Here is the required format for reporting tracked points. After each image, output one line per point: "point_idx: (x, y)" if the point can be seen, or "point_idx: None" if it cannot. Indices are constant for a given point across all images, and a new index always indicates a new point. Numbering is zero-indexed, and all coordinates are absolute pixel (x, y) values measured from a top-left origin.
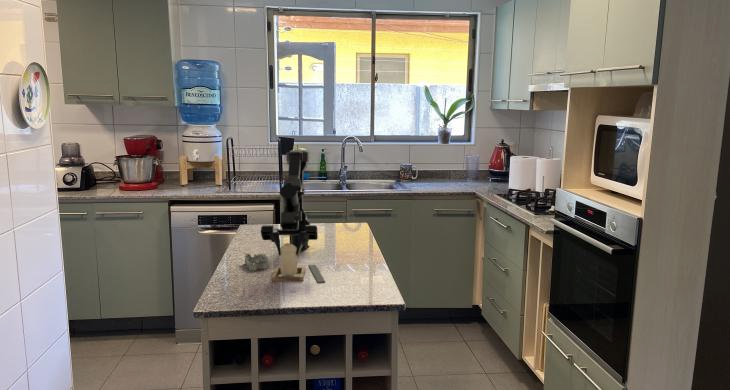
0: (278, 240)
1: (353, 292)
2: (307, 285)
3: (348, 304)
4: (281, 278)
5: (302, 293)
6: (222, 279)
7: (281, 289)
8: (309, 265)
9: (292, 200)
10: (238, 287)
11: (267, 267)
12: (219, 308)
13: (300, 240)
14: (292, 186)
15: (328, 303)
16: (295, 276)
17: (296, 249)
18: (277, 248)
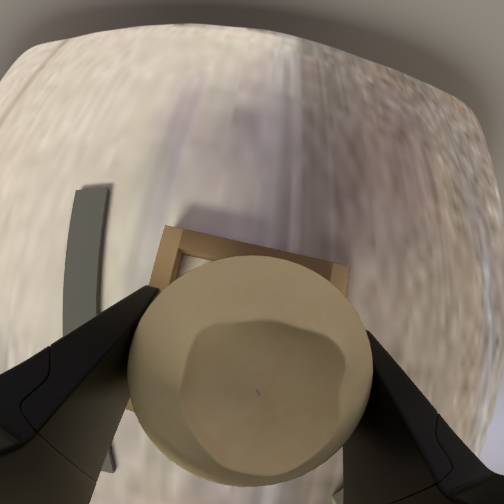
0: (440, 467)
1: (51, 92)
2: (164, 170)
3: (111, 31)
4: (295, 256)
5: (210, 95)
6: (496, 339)
7: (295, 153)
8: (109, 465)
9: None
10: (456, 234)
11: (338, 492)
12: (446, 97)
13: (16, 392)
14: None
15: (155, 33)
16: (209, 244)
17: (142, 320)
18: (405, 376)
